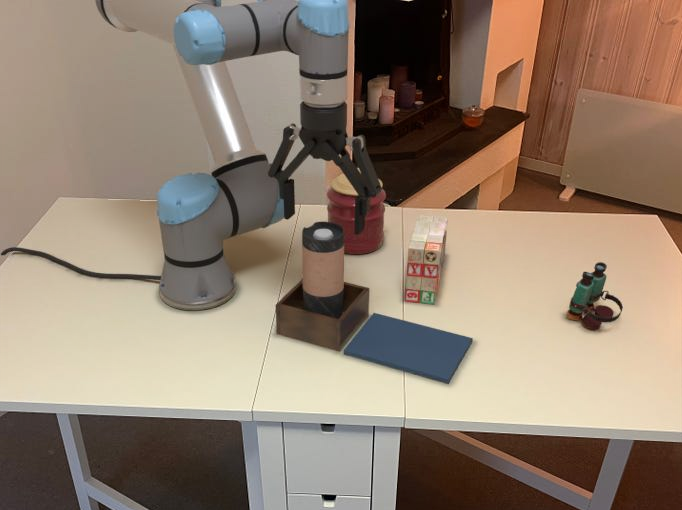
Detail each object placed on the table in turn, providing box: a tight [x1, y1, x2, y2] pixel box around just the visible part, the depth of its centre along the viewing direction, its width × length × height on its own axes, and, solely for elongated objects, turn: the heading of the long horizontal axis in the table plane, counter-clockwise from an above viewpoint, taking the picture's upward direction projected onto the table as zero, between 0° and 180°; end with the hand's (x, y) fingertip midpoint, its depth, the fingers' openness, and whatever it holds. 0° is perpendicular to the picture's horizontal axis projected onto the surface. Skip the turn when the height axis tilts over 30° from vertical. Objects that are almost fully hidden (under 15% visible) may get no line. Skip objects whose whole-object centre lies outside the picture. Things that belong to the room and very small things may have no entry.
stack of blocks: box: [404, 214, 449, 305], centre depth 156 cm, size 21×6×12 cm, turn 168°
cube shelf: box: [275, 277, 371, 352], centre depth 143 cm, size 13×13×6 cm
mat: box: [343, 312, 474, 385], centre depth 139 cm, size 20×14×1 cm
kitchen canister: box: [326, 167, 387, 255], centre depth 167 cm, size 13×13×18 cm
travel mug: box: [301, 221, 345, 319], centre depth 139 cm, size 8×8×20 cm
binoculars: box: [565, 261, 624, 331], centre depth 144 cm, size 9×11×10 cm
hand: (324, 224), depth 132 cm, fingers open, 13 cm apart
